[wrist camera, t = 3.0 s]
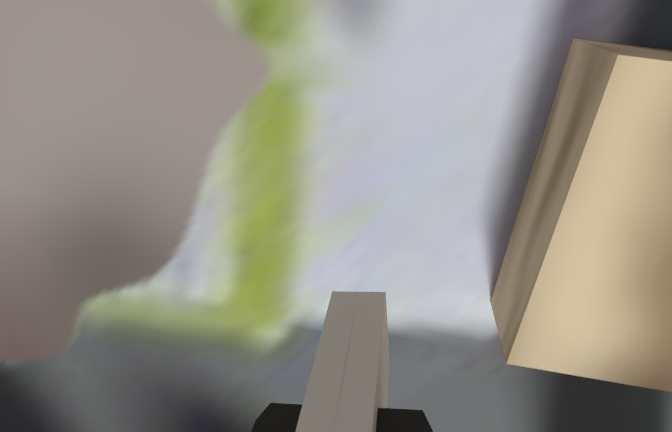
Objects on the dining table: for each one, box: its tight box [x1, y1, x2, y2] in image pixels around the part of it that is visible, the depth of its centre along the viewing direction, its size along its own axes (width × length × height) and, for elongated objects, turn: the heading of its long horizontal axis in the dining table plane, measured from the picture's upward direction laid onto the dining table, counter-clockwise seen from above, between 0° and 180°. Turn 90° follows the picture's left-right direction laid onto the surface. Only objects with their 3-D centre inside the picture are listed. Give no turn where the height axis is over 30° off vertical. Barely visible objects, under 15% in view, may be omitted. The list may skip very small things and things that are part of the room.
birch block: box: [490, 38, 672, 392], centre depth 18 cm, size 9×12×4 cm
